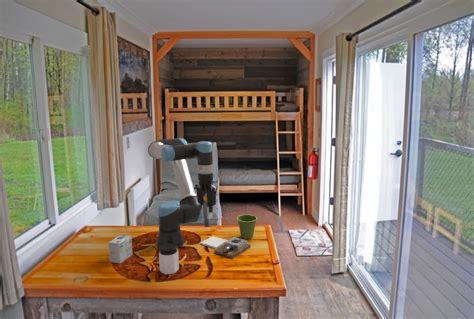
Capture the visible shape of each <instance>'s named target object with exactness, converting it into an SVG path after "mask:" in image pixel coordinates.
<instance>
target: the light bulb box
mask: <svg viewBox="0 0 474 319" xmlns="http://www.w3.org/2000/svg"><path fill="white" fill-rule="evenodd" d="M107 244H108V251H109V254H108V255H109V262H110V263H116V264H122V263H123V262H125V261H126V260H127V259H130V258H131V257H132V256H133V241H132V235H127V234H120V235H118V236H116V237H115V238H113V239H111V240H110V241H108V243H107Z"/></svg>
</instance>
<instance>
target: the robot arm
mask: <svg viewBox="0 0 474 319" xmlns="http://www.w3.org/2000/svg"><path fill="white" fill-rule="evenodd" d="M147 154H148V155H149V157H151V158H153V159H157V160H158V159H159V160H162V161H164V162H169V163H170V164H171V165H172V168H173V170H172V171H173V172H174V176H175V180H176V184H177V187H178V188H177V189H178V191H179V195H180V199H179V201H178V200H168V201H166V202H163V203H160V204H159V206H158V207H157V216H158V217H157V218H158V235H157V239H156V246H157V248H159V249H160V246H161V245H163V244H167V243H173V244H176V245H177V249H178V248H180V247H182V246H183V245H185V238H184V236H183V233H182V230H181V225H186V224H191V223H198V222H200V221H204V202H203V196H204V195H207V201H208V206H207V218H208V219H210V220H211V219H213V211H214V210H213V209H214V208H213V207H214V206H215V205H216V204H217V191H218V186H215V185H214V183H213V181H214V173H213V172H214V165H213V162H214V161H213V144H212V142H211V141H206V140H205V141H204V140H203V141H198V142H197V143H196V142H195V143H194V142H193V143H190V144H188V141H186V139H184V138H183V137H181V138H180V137H179V138H178V137H176V138H164V139H163V138H162V139H157V140H154V141H152V142H151V143H150V144H149V145H148V147H147ZM187 160H197V172H198V173H197V179H198V183H196V184H195V185H194V184H193V181H192V176H191V174H190V170H189V167H188V164H187V163H188V162H187ZM194 186H195V188H194ZM195 189H196V191H195Z"/></svg>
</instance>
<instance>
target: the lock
mask: <svg viewBox="0 0 474 319" xmlns="http://www.w3.org/2000/svg"><path fill="white" fill-rule="evenodd" d="M227 240H228V241H226V242H225V244H224V245H222V246H220V247H218V248H217V249H214V254H217V255H219V256H220V255H221V256H223V257H227V258H230V259H235V258H237V257H238V256H240V255H241V254H242V253H244V252H246V251H247V250H248V249H251V244H249V243H248V240H247V239H245V238H239V237H236V236H233V237H231V238H229V239H227Z"/></svg>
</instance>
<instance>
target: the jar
mask: <svg viewBox="0 0 474 319" xmlns="http://www.w3.org/2000/svg"><path fill="white" fill-rule="evenodd" d="M158 261H159V262H158V263H159V272H160V273H162V274H164V275H171V274H175V273H177V271H179V269H180V264H179V261H180V260H179V250H178V248H177V245H176V244H173V243H167V244H163V245H161V246H160V248H159V252H158Z"/></svg>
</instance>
